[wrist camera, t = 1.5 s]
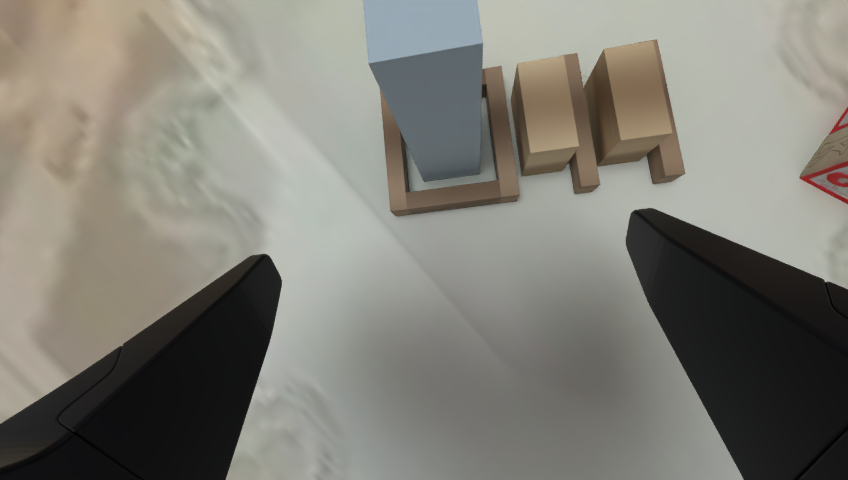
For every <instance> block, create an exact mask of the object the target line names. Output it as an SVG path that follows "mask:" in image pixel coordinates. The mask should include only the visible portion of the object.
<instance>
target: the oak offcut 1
mask: <svg viewBox="0 0 848 480" xmlns="http://www.w3.org/2000/svg"><path fill="white" fill-rule="evenodd" d="M511 106H512V113H513V120H514V127H515V134H516V141H517V148H518V155H519V162H520V169H521V176H529V175H536V174H543V173H551V172H558V171H562V170H563V169H564V167H565V166H566V164H567V163H568V162H569V160H570V159H571V157H572V156H573V154H574V153H575V151H576V150H577V149H578V147H579V142H578V136H577V130H576V124H575V118H574V112H573V106H572V100H571V94H570V89H569V83H568V77H567V71H566V65H565V59H564V56H559V57H553V58H547V59H541V60H535V61H529V62H523V63H518V64H517V68H516V74H515V79H514V85H513V91H512V97H511Z"/></svg>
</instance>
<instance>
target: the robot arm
mask: <svg viewBox="0 0 848 480" xmlns="http://www.w3.org/2000/svg"><path fill="white" fill-rule="evenodd" d="M626 246H627V250H628V252H629V255H630V257H631V260H632V263H633V265H634V268H635V270H636V273H637V276H638V278H639V281H640V283H641V286H642V288H643V291H644V294H645V296H646V298H647V301H648V303H649V305H650V307H651V309H652V311H653V313H654V314H655V316H656V318H657V320H658V322H659V324H660V326H661V327H662V329H663V331H664V333H665V335H666V337H667V338H668V340H669V342H670V344H671V346H672V348H673V349H674V351H675V353H676V355H677V357H678V359H679V361H680V362H681V364H682V366H683V368H684V370H685V372H686V373H687V375H688V377H689V379H690V381H691V383H692V385H693V386H694V388H695V390H696V392H697V394H698V396H699V397H700V399H701V401H702V403H703V405H704V407H705V409H706V410H707V412H708V414H709V416H710V418H711V420H712V421H713V423H714V425H715V427H716V429H717V431H718V433H719V434H720V436H721V438H722V440H723V442H724V444H725V445H726V447H727V449H728V451H729V453H730V455H731V457H732V458H733V460H734V462H735V464H736V466H737V468H738V469H739V471H740V473H741V475H742V477H743V479H744V480H848V289H845V288H843V287H841V286H838V285H836V284H834V283H831V282H825V281H824V280H823V279H821V278H819V277H817V276H814V275H812V274H809V273H807V272H805V271H802V270H800V269H797V268H795V267H793V266H790V265H788V264H785V263H783V262H781V261H778V260H776V259H773V258H771V257H769V256H766V255H764V254H761V253H759V252H757V251H754V250H752V249H749V248H747V247H745V246H742V245H740V244H737V243H735V242H733V241H730V240H728V239H725V238H723V237H721V236H718V235H716V234H713V233H711V232H709V231H706V230H704V229H701V228H699V227H697V226H694V225H692V224H689V223H687V222H685V221H682V220H680V219H677V218H675V217H673V216H670V215H668V214H665V213H663V212H661V211H658V210H656V209H653V208H647V209H639V210H634V211H633V212H632V213H631V215H630V220H629V225H628V231H627V236H626ZM281 287H282V280H281V277H280V274H279V273H278V271H277V269H276V267H275V265H274V263H273V261H272V259H271V258H270V256H269V255H267V254H259V255H252V256H250V257H248V258H247V259H245V260H244V261H242V262H241V263H240V264H238V265H237V266H235V267H234V268H232V269H231V270H229V271H228V272H227V273H225V274H224V275H222V276H221V277H219V278H218V279H216V280H215V281H214V282H212V283H211V284H209V285H208V286H206V287H205V288H203V289H202V290H201V291H199V292H198V293H196V294H195V295H193V296H192V297H190V298H189V299H188V300H186V301H185V302H183V303H182V304H180V305H179V306H177V307H176V308H174V309H173V310H172V311H170V312H169V313H167V314H166V315H164V316H163V317H161V318H160V319H159V320H157V321H156V322H154V323H153V324H151V325H150V326H148V327H147V328H146V329H144V330H143V331H141V332H140V333H138V334H137V335H135V336H134V337H133V338H131V339H130V340H128V341H127V342H125V343H124V344H123V346H119V347H118V348H117V349H115V350H114V351H112V352H111V353H109V354H108V355H106V356H105V357H104V358H102V359H101V360H99V361H98V362H96V363H95V364H93V365H92V366H90V367H89V368H87V369H86V370H84V371H83V372H81V373H80V374H78V375H77V376H75V377H74V378H72V379H70V380H69V381H67V382H66V383H64V384H63V385H61V386H60V387H58V388H56V389H55V390H53V391H52V392H50V393H49V394H47V395H46V396H44V397H42V398H41V399H39V400H38V401H36V402H34V403H33V404H31V405H30V406H28V407H26V408H25V409H23V410H22V411H20V412H19V413H17V414H15V415H14V416H12V417H11V418H9V419H7V420H6V421H4V422H3V423H1V424H0V480H226V477H227V474H228V470H229V467H230V464H231V461H232V458H233V455H234V452H235V449H236V445H237V442H238V439H239V436H240V433H241V430H242V427H243V424H244V421H245V417H246V414H247V411H248V408H249V405H250V402H251V399H252V396H253V392H254V389H255V386H256V383H257V380H258V377H259V374H260V371H261V367H262V364H263V361H264V358H265V355H266V352H267V349H268V346H269V342H270V339H271V335H272V331H273V327H274V322H275V317H276V312H277V307H278V302H279V297H280V292H281Z"/></svg>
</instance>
